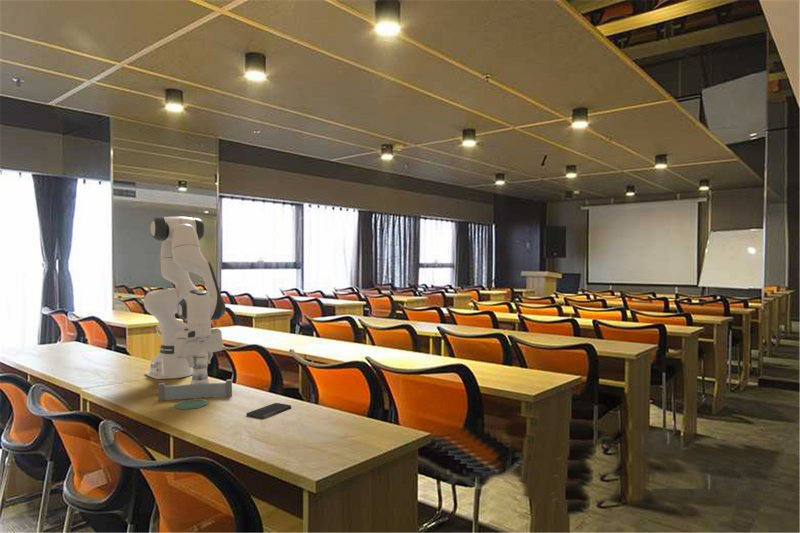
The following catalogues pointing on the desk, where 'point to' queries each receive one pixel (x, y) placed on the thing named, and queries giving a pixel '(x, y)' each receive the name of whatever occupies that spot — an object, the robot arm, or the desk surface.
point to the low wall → (194, 390)
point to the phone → (268, 410)
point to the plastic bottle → (200, 366)
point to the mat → (191, 404)
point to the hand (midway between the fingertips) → (199, 365)
